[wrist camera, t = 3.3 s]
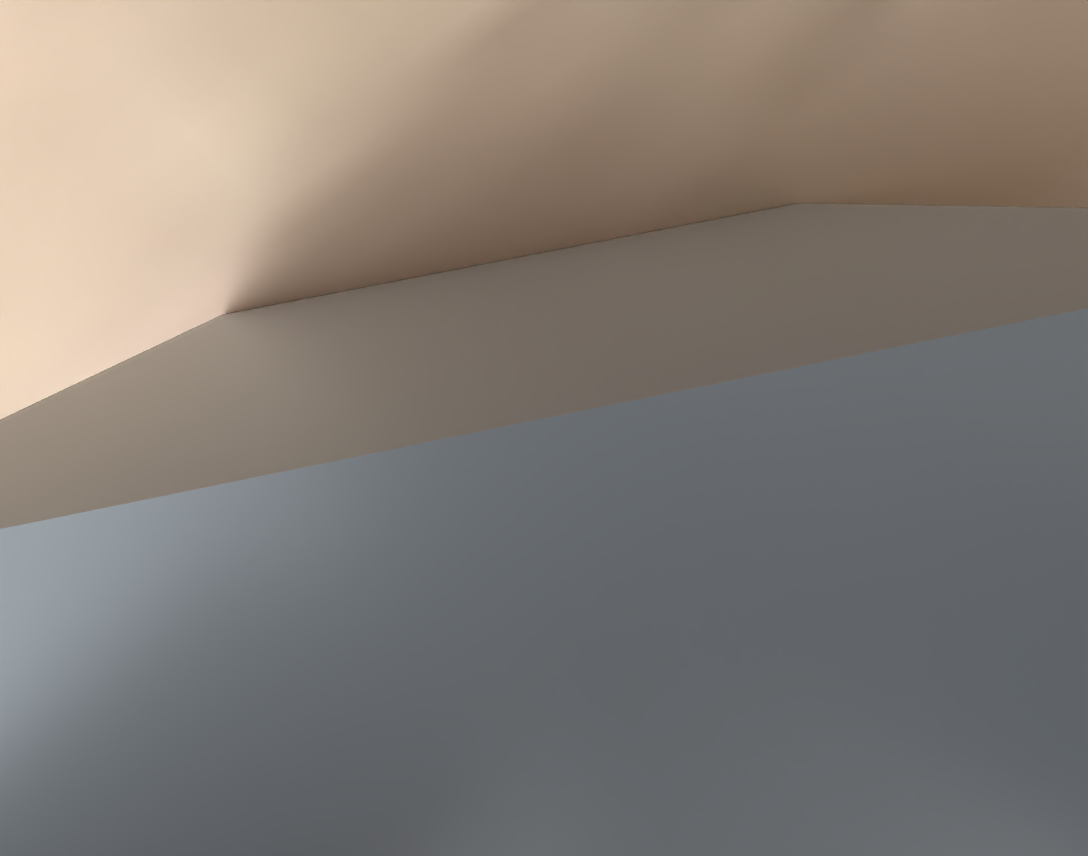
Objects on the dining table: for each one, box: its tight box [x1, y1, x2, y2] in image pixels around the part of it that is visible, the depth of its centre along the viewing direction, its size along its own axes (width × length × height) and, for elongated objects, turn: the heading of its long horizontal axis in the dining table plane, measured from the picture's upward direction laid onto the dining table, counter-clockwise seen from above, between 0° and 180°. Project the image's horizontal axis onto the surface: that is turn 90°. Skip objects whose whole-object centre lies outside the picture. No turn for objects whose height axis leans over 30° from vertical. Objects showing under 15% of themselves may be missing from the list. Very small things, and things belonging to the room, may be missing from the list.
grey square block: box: [0, 203, 1088, 856], centre depth 9 cm, size 10×10×9 cm
